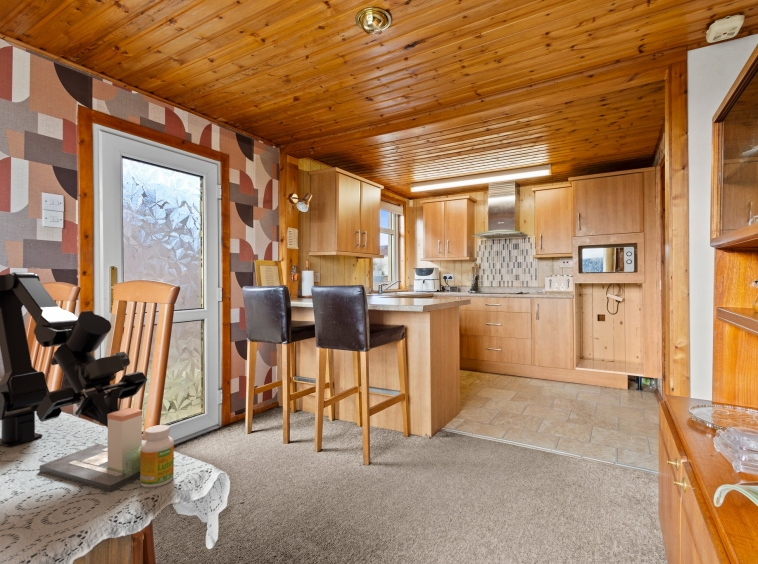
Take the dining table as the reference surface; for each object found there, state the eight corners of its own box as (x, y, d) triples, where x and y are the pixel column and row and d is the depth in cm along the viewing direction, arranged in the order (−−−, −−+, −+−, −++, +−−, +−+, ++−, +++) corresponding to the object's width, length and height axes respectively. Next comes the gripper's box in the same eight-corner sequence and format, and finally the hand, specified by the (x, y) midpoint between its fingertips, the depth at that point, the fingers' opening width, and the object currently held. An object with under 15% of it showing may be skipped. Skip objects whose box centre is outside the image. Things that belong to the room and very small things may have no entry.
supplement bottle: (158, 490, 70) (159, 435, 70) (132, 486, 71) (133, 432, 71) (180, 475, 75) (180, 424, 75) (155, 472, 77) (155, 422, 77)
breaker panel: (39, 471, 77) (39, 445, 77) (97, 449, 87) (97, 425, 87) (110, 492, 69) (110, 462, 69) (164, 465, 79) (164, 439, 79)
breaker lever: (107, 466, 76) (107, 414, 76) (127, 457, 80) (127, 407, 80) (121, 470, 75) (122, 416, 75) (141, 461, 78) (142, 410, 78)
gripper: (46, 348, 71) (86, 417, 67) (141, 335, 89) (178, 389, 85) (19, 387, 74) (56, 456, 70) (117, 367, 92) (151, 421, 88)
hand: (116, 427), depth 78 cm, fingers closed
